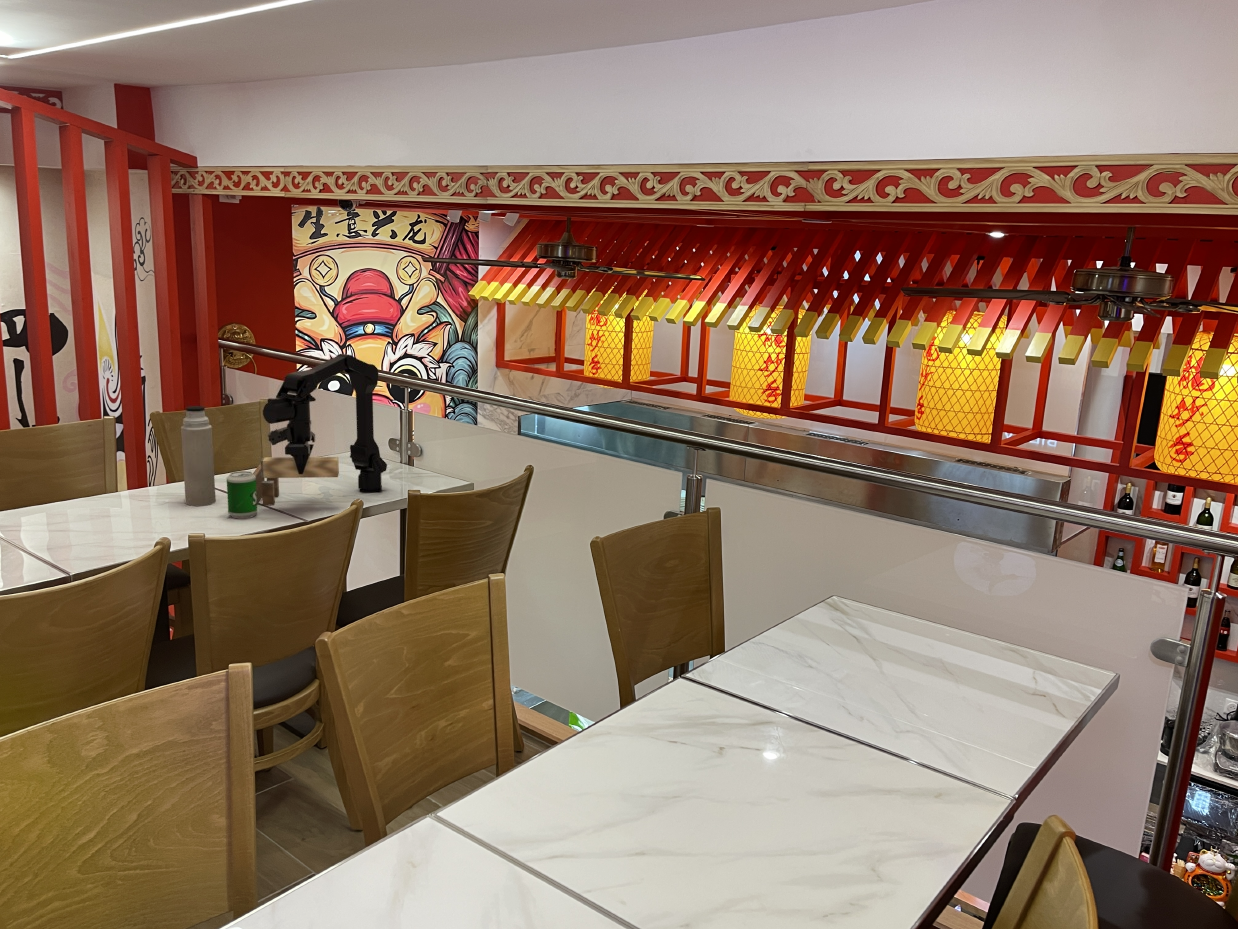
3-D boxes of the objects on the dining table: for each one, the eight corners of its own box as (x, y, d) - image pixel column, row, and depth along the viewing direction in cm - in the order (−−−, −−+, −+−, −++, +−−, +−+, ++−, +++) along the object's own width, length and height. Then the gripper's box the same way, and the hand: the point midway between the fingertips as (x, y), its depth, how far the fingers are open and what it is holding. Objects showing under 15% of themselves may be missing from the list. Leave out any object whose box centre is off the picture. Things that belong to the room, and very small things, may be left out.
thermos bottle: (201, 497, 279) (196, 403, 272) (221, 501, 275) (216, 406, 269) (179, 503, 271) (173, 407, 265) (199, 507, 268) (193, 410, 262)
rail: (338, 473, 274) (338, 457, 272) (337, 477, 270) (337, 460, 269) (263, 474, 269) (262, 457, 268) (261, 478, 266) (260, 460, 264)
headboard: (280, 492, 287) (279, 464, 285) (272, 507, 272) (270, 476, 270) (260, 493, 286) (259, 464, 284) (251, 507, 271) (250, 477, 269)
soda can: (251, 520, 259) (249, 477, 256) (223, 518, 259) (221, 476, 256) (261, 512, 266) (260, 471, 264) (235, 511, 267) (233, 469, 264)
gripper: (274, 412, 273) (276, 464, 277) (264, 425, 255) (266, 481, 259) (314, 412, 275) (316, 464, 279) (307, 425, 258) (309, 480, 261)
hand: (301, 472), depth 269 cm, fingers closed on rail, 4 cm apart
